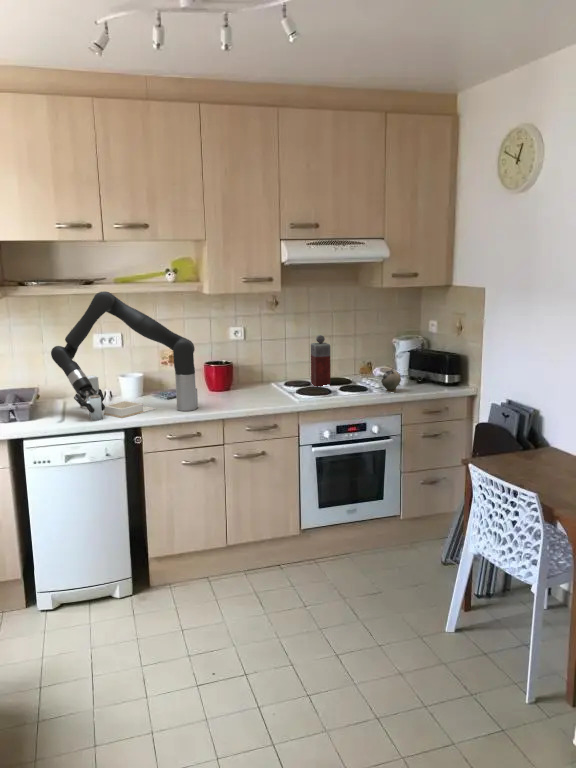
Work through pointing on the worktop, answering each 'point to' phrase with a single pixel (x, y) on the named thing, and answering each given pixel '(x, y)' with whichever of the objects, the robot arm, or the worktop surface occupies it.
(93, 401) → the jar
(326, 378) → the red and grey bottle
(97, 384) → the skincare box
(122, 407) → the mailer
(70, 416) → the worktop surface
